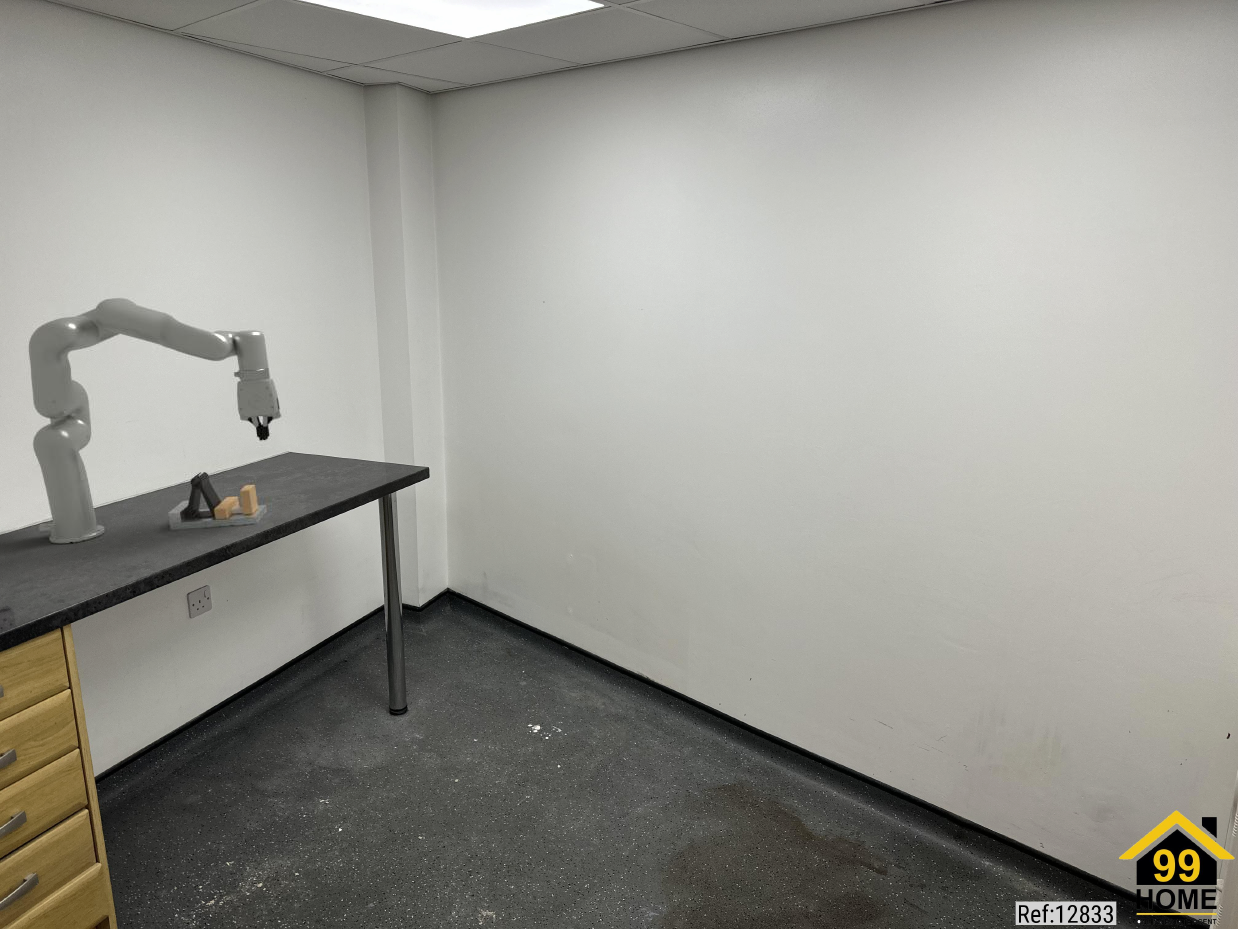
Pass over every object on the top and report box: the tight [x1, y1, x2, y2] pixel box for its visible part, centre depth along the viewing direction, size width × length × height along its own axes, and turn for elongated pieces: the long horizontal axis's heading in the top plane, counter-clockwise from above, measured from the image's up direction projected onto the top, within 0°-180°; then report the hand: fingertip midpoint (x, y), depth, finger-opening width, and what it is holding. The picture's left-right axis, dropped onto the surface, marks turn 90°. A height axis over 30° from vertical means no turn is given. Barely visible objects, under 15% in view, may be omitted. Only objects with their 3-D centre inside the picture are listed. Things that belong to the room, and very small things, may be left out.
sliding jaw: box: [214, 484, 259, 519], centre depth 222 cm, size 9×12×7 cm
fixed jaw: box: [167, 500, 189, 524], centre depth 220 cm, size 3×12×3 cm, turn 11°
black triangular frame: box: [185, 471, 222, 519], centre depth 220 cm, size 9×6×12 cm, turn 100°
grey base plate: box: [169, 504, 268, 531], centre depth 223 cm, size 22×12×2 cm, turn 101°
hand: (263, 439), depth 220 cm, fingers closed
